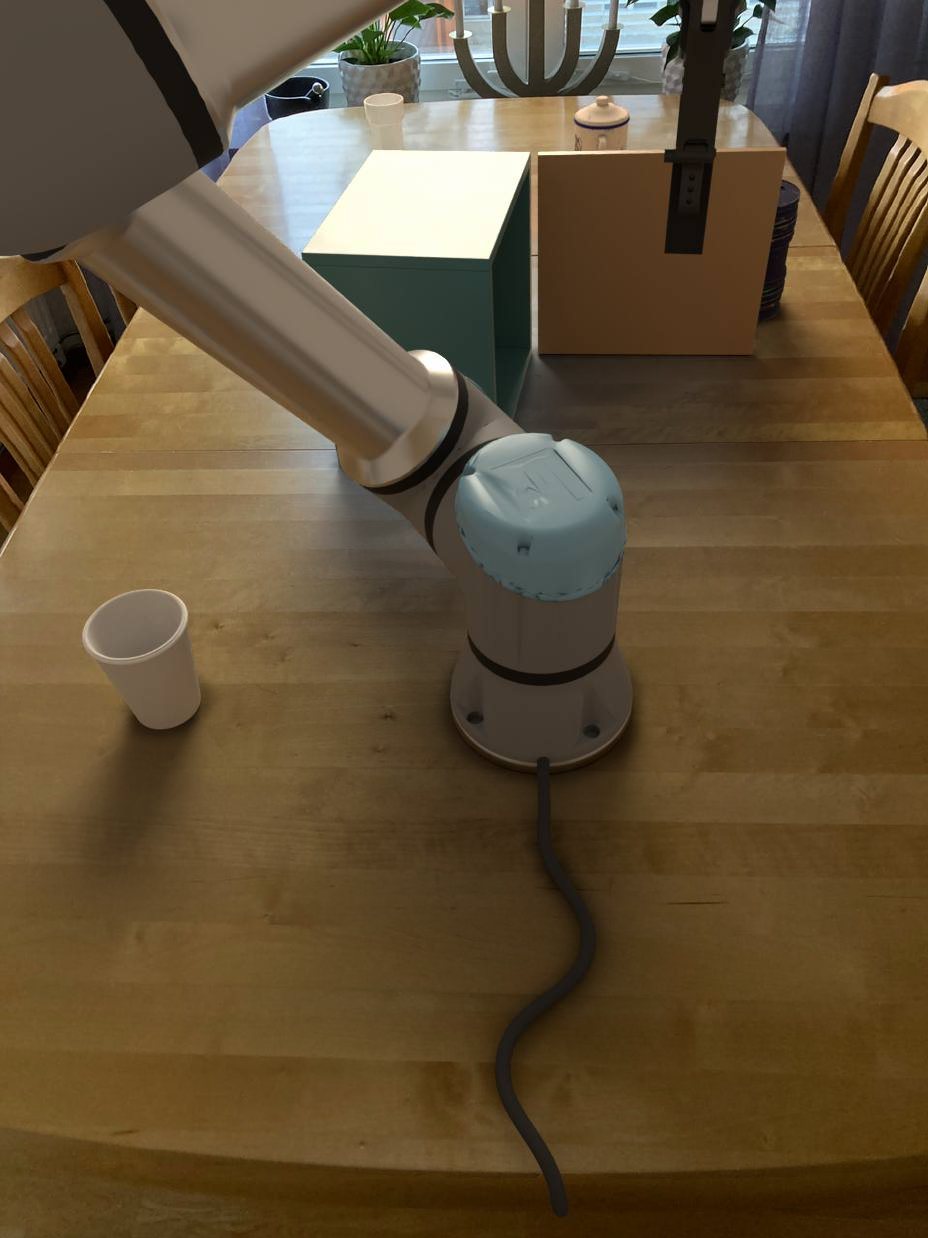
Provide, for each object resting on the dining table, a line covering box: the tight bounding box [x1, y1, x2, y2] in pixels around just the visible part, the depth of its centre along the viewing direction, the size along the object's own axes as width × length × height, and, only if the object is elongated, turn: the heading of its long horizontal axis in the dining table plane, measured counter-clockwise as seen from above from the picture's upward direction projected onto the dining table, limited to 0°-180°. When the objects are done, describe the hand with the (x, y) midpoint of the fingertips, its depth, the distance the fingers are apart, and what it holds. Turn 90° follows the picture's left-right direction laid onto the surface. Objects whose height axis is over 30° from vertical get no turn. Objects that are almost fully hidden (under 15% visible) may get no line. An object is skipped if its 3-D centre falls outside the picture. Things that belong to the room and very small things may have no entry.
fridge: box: [300, 149, 533, 466], centre depth 107 cm, size 18×26×24 cm
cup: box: [363, 92, 405, 150], centre depth 167 cm, size 7×7×11 cm
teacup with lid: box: [573, 95, 631, 151], centre depth 159 cm, size 12×9×12 cm
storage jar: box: [757, 178, 802, 323], centre depth 123 cm, size 10×10×15 cm
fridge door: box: [537, 146, 788, 356], centre depth 115 cm, size 7×26×24 cm, turn 84°
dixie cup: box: [81, 588, 202, 730], centre depth 81 cm, size 8×8×10 cm
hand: (686, 213), depth 75 cm, fingers open, 13 cm apart
